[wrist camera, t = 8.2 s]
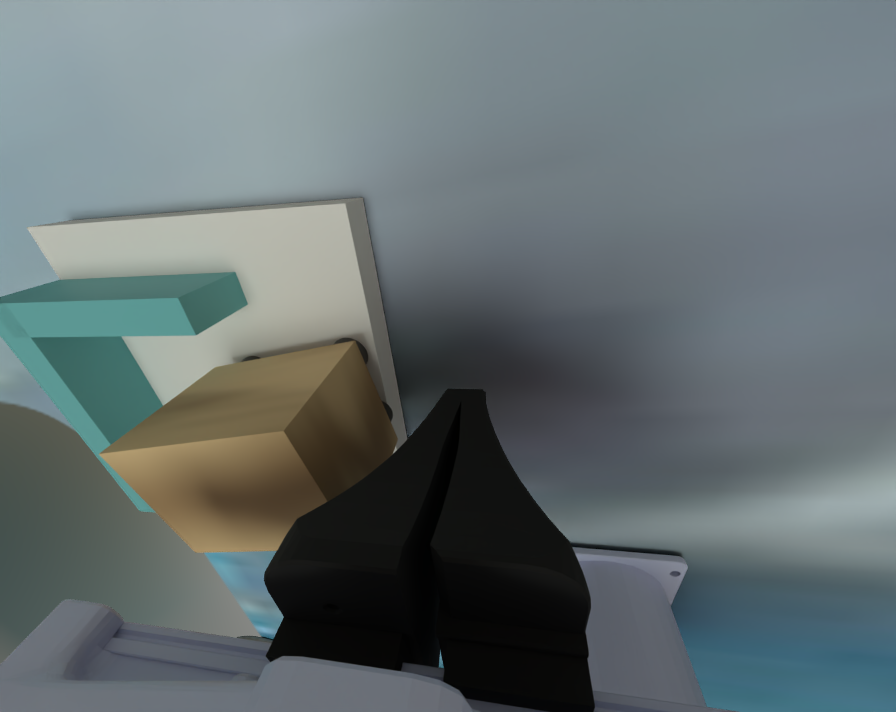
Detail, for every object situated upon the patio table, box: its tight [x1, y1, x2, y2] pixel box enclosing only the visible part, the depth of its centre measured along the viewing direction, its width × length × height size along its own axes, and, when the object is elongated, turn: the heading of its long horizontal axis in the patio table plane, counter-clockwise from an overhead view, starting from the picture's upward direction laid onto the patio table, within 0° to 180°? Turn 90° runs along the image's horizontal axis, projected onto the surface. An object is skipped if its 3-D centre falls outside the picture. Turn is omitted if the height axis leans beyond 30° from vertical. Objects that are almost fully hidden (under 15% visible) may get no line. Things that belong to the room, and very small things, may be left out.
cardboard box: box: [99, 338, 398, 553], centre depth 12 cm, size 4×6×5 cm
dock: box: [0, 198, 407, 512], centre depth 14 cm, size 14×12×4 cm
